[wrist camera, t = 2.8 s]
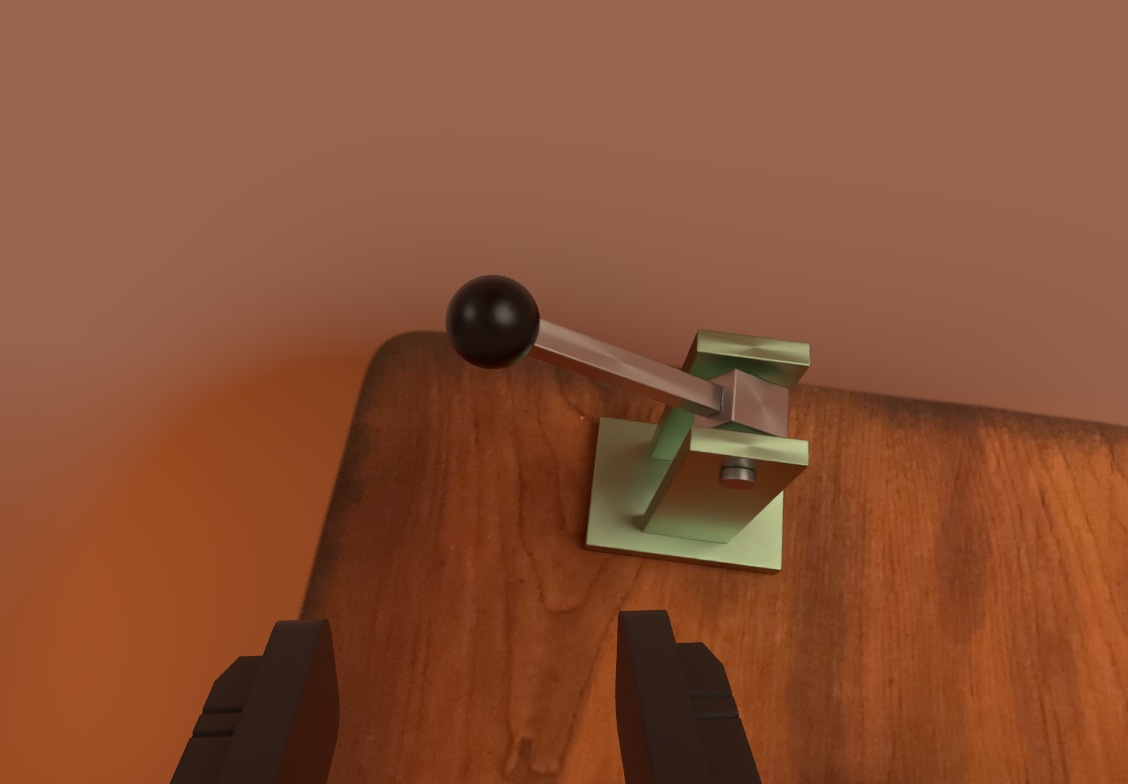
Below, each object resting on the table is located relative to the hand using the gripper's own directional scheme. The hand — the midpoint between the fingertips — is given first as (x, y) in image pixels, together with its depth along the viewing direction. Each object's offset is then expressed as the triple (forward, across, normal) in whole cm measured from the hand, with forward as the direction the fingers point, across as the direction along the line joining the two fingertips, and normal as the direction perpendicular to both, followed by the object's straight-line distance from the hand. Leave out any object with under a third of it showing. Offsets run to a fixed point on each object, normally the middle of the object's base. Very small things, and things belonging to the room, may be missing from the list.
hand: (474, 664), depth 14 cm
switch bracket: (+30, -10, +14) cm, 34 cm away
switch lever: (+20, -4, +4) cm, 21 cm away
